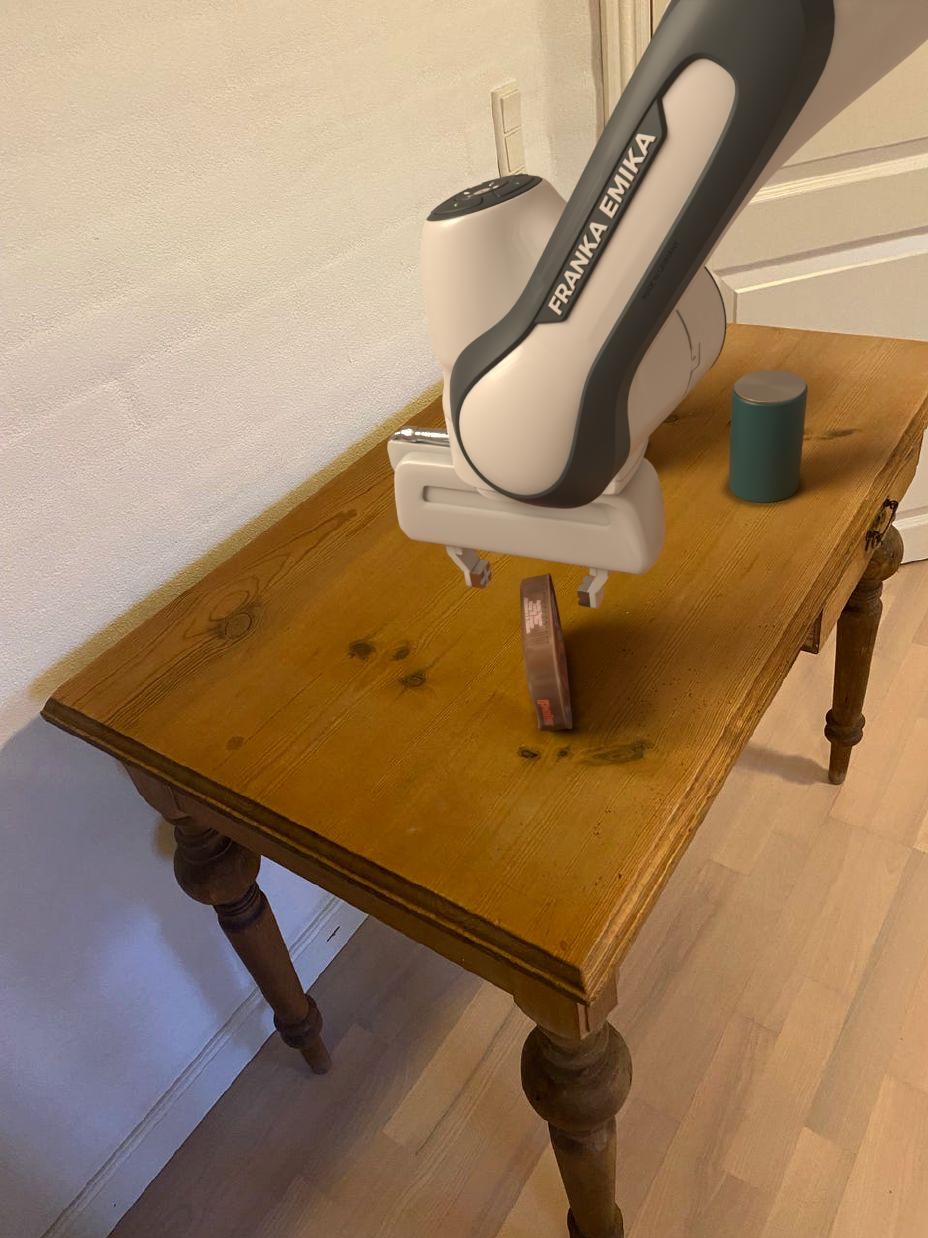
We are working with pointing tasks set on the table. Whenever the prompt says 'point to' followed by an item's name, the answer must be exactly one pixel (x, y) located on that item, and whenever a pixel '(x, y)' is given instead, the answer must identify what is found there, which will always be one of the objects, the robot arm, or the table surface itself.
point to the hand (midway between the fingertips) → (534, 592)
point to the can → (767, 435)
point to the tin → (544, 653)
